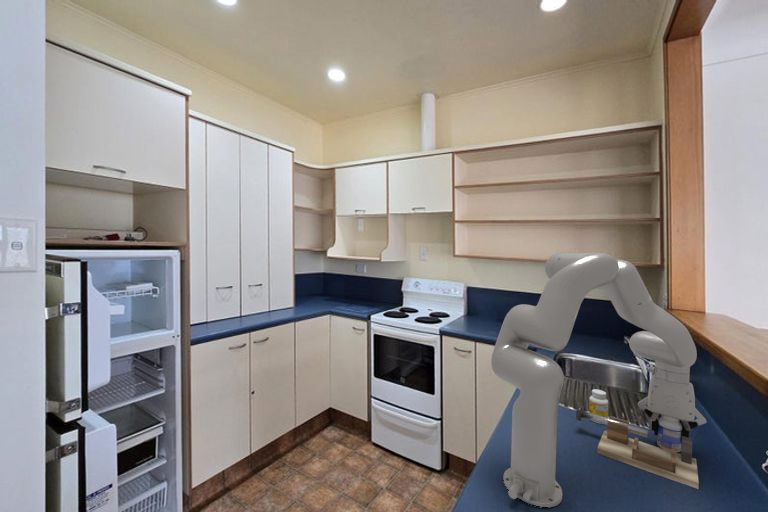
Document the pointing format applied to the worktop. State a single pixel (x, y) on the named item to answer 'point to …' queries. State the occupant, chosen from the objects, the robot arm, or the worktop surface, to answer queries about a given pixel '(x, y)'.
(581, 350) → the worktop surface
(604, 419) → the steel shaft
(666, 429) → the pill bottle
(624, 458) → the shaft bracket
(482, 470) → the worktop surface
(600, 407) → the supplement bottle
